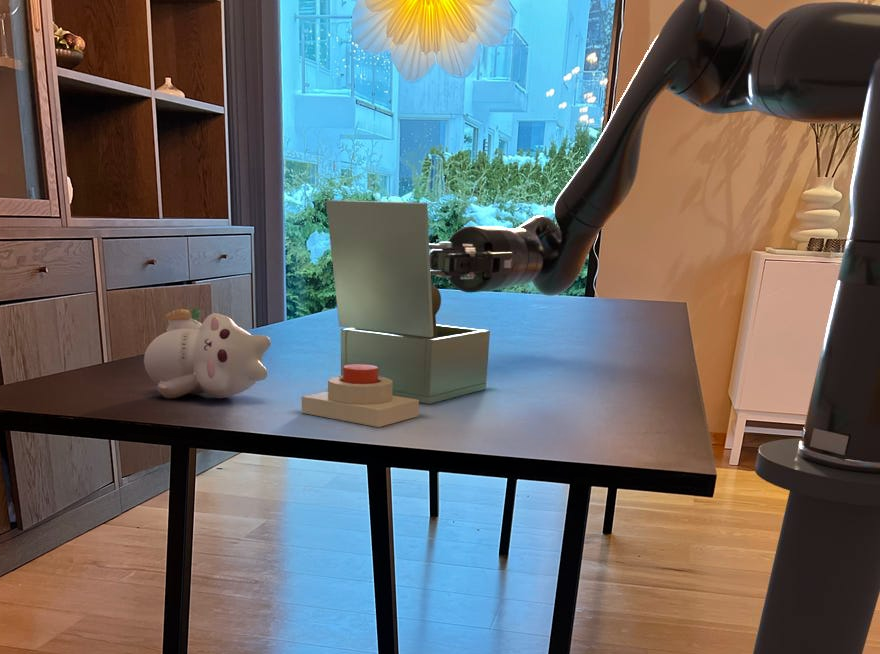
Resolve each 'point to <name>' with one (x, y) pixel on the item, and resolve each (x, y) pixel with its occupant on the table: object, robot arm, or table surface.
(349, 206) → the box lid
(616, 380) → the table surface
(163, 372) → the cat figurine
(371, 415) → the panel
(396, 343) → the open box
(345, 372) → the button
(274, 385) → the table surface
